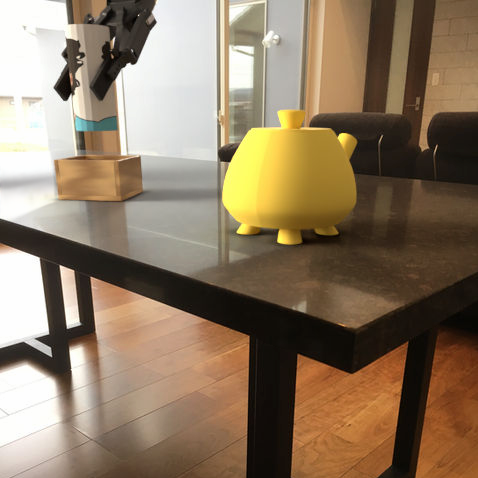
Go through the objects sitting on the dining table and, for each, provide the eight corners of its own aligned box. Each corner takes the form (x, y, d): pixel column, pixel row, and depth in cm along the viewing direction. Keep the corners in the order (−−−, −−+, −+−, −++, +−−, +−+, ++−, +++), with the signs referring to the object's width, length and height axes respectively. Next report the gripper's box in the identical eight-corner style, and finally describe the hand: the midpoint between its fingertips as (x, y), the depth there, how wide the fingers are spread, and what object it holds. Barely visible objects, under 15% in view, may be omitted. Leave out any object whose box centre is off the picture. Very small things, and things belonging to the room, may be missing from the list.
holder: (58, 199, 86) (53, 159, 83) (86, 190, 96) (82, 154, 93) (121, 201, 84) (118, 160, 82) (143, 191, 94) (140, 155, 92)
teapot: (303, 211, 76) (308, 109, 70) (398, 227, 65) (412, 109, 60) (196, 231, 63) (192, 109, 58) (293, 255, 52) (299, 109, 47)
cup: (120, 129, 89) (112, 30, 84) (115, 131, 83) (105, 24, 77) (80, 129, 89) (69, 30, 83) (72, 131, 82) (59, 23, 77)
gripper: (193, 7, 87) (139, 112, 80) (103, 17, 95) (47, 112, 88) (173, -37, 81) (113, 72, 73) (79, -23, 89) (17, 76, 82)
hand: (77, 93), depth 81 cm, fingers closed on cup, 7 cm apart
